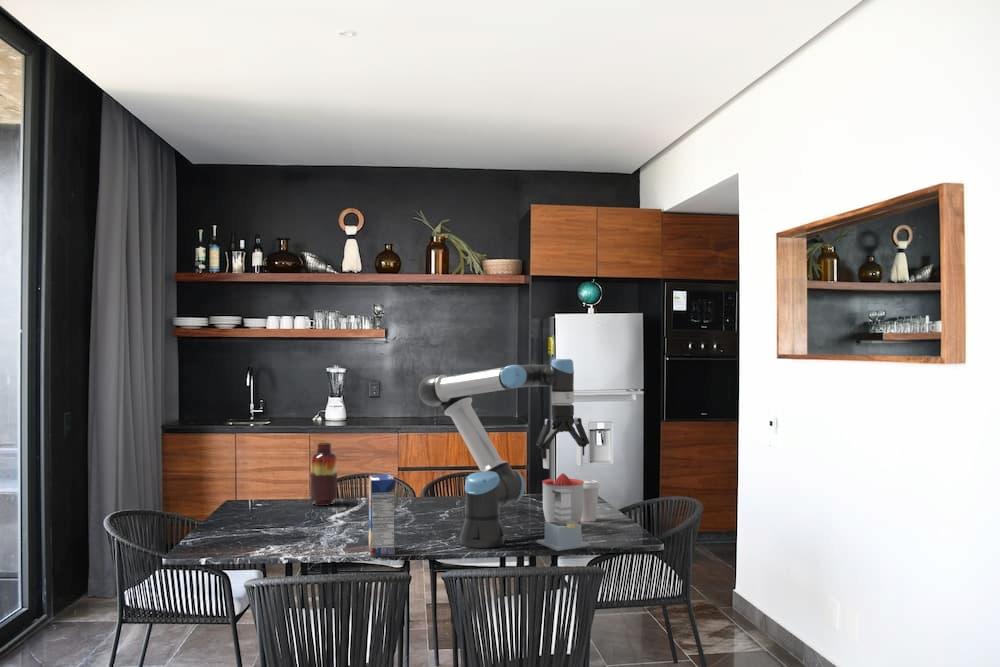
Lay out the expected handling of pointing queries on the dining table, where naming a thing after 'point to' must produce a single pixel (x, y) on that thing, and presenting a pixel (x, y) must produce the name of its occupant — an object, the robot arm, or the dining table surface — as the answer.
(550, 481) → the citrus juicer
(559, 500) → the column
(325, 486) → the vase
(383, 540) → the juice carton
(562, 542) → the stand base
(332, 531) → the dining table surface
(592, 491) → the coffee cup
